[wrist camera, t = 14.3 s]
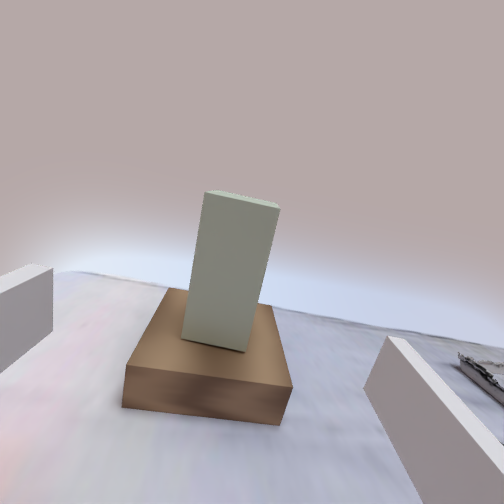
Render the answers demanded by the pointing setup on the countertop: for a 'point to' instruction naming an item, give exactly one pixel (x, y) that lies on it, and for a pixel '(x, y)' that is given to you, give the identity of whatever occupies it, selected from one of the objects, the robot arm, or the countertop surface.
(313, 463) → the countertop surface
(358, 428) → the countertop surface
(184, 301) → the walnut block
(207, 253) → the sage block
